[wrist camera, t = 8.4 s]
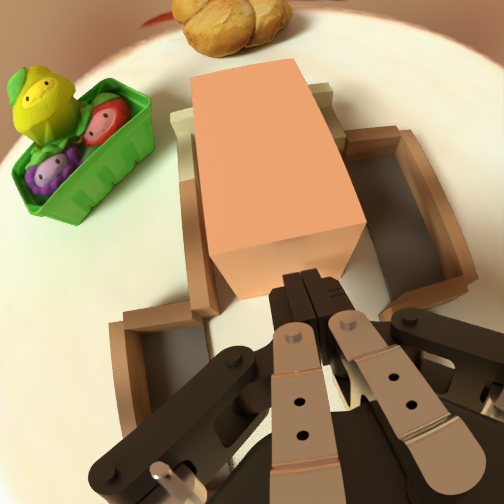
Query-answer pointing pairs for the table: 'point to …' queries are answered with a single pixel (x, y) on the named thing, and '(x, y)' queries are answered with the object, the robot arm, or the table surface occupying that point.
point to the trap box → (383, 236)
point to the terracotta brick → (270, 178)
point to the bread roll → (230, 23)
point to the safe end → (185, 120)
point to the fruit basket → (75, 141)
